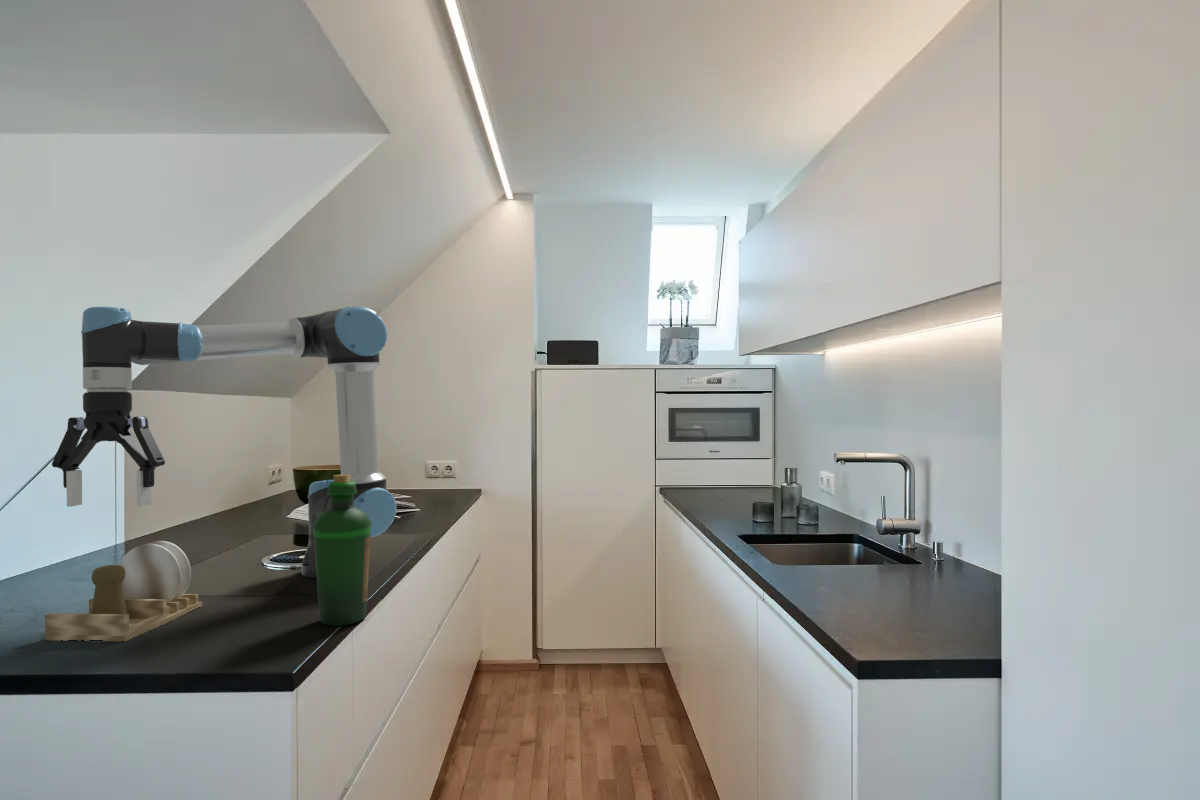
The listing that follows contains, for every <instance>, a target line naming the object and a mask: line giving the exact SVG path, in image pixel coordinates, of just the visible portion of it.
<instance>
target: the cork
mask: <svg viewBox="0 0 1200 800" xmlns="http://www.w3.org/2000/svg"><path fill="white" fill-rule="evenodd" d="M124 578H125V569H124V568H123V567H122V566H120V564H107V565H103V566H99V567H97V568H95V569H94V570H93V571H92V574H91V582H92V584H93V585H94V586H95V588H94V593H93V598H92V599H93V605H92V611H91V614H127V612H126V605H125V599H124V593H123V587H122V581H123V580H124Z"/></svg>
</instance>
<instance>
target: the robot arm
mask: <svg viewBox="0 0 1200 800" xmlns="http://www.w3.org/2000/svg"><path fill="white" fill-rule="evenodd" d="M81 323H82V325H81V333H80V334H81V342H82V350H81V351H82V388H83V389H84V390H86V392H83V394H82V411H83V412H84V413H85V417H82V416H81V417H80V416H79V417H76V416H75V417H69V418H68V420H67V429H66V430H65V433H64V436H63V438H62V440H61V442H60V444H59V447H58V449H57V451H56V454H55V455H54V458H53V459H52V463H51V466H52V467H53V468H57V469H60V470H62V472H63V473H62V475H63V476H62V477H63V478H62V480H63V487H64V489H66V507H77V506H82V505H83V470H82V469H81V468H80V467H79V466H81V464H82V463H83V462H84V460H85V459H86V458H87V457H88V455H89V453H90V452H91V451H92V450H93V449H94V448H95V446H96V445H97V444H98V443H100V442H116V443H118V444H120V446H121V447H123V449H124V450H125V451H126V452H127V454H128V455H129V456H130V457H131V459H133V460H134V462H135V463H136V464H137V466H138V467H139V469H138V470H136V507H144V506H149V505H152V487H154V486H155V469H156V468H158V467H161V466H164V465H165V464H166V461H165V459H164V456H163V454H162V452H161V450H160V449H159V446H158V444H157V442H156V440H155V438H154V436H153V434H152V432H151V430H150V428H149V420H148V417H147V416H134V417H132V416H131V412H132V410H133V394H132V393H131V392H129V390H131V389H132V388H133V376H132V375H133V372H132V364H136V365H139V366H147V365H152V364H165V363H177V362H179V363H184V362H195V361H205V360H206V361H207V360H218V359H219V360H221V359H232V358H235V359H236V358H247V357H248V358H249V357H264V356H278V355H279V356H280V355H290V356H292V357H293V358H296V359H297V358H320V359H321V358H323V359H327V366H328V367H329V368H330V370H332V371H333V372H334V375H335V378H334V379H335V392H336V393H335V394H336V409H337V426H338V427H337V429H338V442H339V443H338V446H339V461H340V464H339V465H340V474H339V475H343V474H348V475H351V478H350V481H355V485H356V490H357V493H356V494H354V502H353V507H356V508H358V509H360V510H361V511H363V512H364V513H365V514H366V515H367V516H368V518H369V519H370V521H371V535H370V538H374V537H378V536H380V535H382V534H383V533H385V532H386V531H387V530H388V529H389V527H390V526H391V525H392V524H393V522H394V520H395V517H396V515H397V501H396V498H395V497H394V495H392V494H391V492H390V491H389V490H387V477H386V476H385V474H383V473H382V472H381V471H380V470H379V469H380V468H379V466H380V465H379V451H378V450H379V449H378V433H377V431H378V430H377V415H376V414H377V411H376V396H375V395H376V393H375V380H374V379H375V377H374V376H375V375H374V371H375V370H376V368H377V367H378V366H379V365H380V352H381V351H382V350H383V349H384V347H386V343H387V340H388V330H387V326H386V324H385V322H384V320H383V319H382V317H381V316H380V315H379V314H378V313H377V312H376V311H375V310H372V309H371V308H368V307H366V306H360V305H359V306H358V305H357V306H346V307H344V308H339V309H338V308H337V309H335V310H329V311H323V312H321V313H318V314H317V313H316V314H312V315H307V316H303V317H302V316H301V317H290V318H288V320H287V321H286V322H285V321H284V322H281V321H280V322H262V323H261V322H259V323H235V324H233V323H232V324H212V325H211V324H209V325H208V324H207V325H195V324H189V323H182V322H159V321H141V320H137V319H136V320H135V319H133V317H132V314H131V311H130V310H129V309H127V308H124V307H121V308H120V307H114V306H90V307H88V308H86V309H84V310H83V313H82V321H81ZM130 428H131V429H133V432H134V434H133V432H131V429H130ZM85 429H86V431H85V433H83V432H84V430H85ZM136 438H137V440H136ZM330 482H334V479H327V480H319V481H314V482H311V483H310V484H309V487H308V495H307V500H308V501H307V502H308V503H307V504H308V505H307V506H308V544H307V548H306V550H305V553H304V556H303V560H302V562H301V565H300V567H301V572H300V573H301V574H300V575H301V576H303V577H306V578H309V579H310V578H312V579H317V574H316V559H315V544H314V528H313V524H314V522H315V521H316V519H317V517H318V516H319V515H320V514H322V513H323V512H324V511H326V510H327V509H330V508H332V507H331V497H330V495H328V494H327V493H328V488H329V483H330Z"/></svg>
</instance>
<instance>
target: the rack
mask: <svg viewBox="0 0 1200 800" xmlns="http://www.w3.org/2000/svg"><path fill="white" fill-rule="evenodd" d="M119 565H120V566H122V567H123V568H124V569H125V578H124V580H123V581H122V587H123V593H124V599H125V605H126V612H127V614H91V611H92V605H93V598H91V599H88V612H87V613H64V612H63V613H60V612H59V613H57V612H55V613H53V612H52V613H51V612H50V613H46V614H44V640H45V641H61V640H63V642H64V641H66V642H67V641H68V640H78V641H79V642H80V641H81V640H84V641H83V642H90V641H89V640H103V641H102V642H122V641H125V642H127V641H129V640H131V639H134V638H136V637H138V636H140V634H141V635H143V634H145V633H147V632H149V630H150V631H152V630H153V629H156V628H158V627H161V626H163V625H164V624H167V623H169V621H170V622H171V620H172V621H174V620H176V619H178V617H179V618H181V617H183V616H185V615H187V614H186V613H188V612H190V611H192V610H194V609H196V608H198V607H201V606H203V605H204V603H203V601H199V593H186V591H187V589H188V588H189V587H190V583H191V579H192V567H191V564H190V559H189V558H188V556H187V555H186V553H185V552H184V551H183V549H182V548H180V547H179V546H178V545H176V544H175V543H173V542H170V541H166V540H156V541H151V542H149V543H146V544H145V543H144V544H141V545H137V546H135V547H133V548H132V549H130V550H129V551H128V552H127V553H126V554H125V555H124V556H123V557H122V559H121V561H120V562H119ZM203 607H204V606H203ZM201 608H202V607H201ZM196 610H197V609H196ZM194 611H195V610H194ZM192 612H193V611H192ZM190 613H191V612H190ZM184 614H185V615H184ZM188 614H189V613H188ZM182 615H183V616H182ZM180 616H181V617H180ZM160 625H161V626H160ZM133 637H134V638H133ZM78 641H77V642H78ZM81 642H82V641H81Z"/></svg>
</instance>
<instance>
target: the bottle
mask: <svg viewBox="0 0 1200 800" xmlns="http://www.w3.org/2000/svg"><path fill="white" fill-rule="evenodd" d="M332 477H333V480H334V482H330V483H329V488H328V493H327V494H328V495H330V497H331V507H332V508H330V509H327V510H326V511H324V512H323V513H322V514H320V515H319V516H318V517H317V519H316V521H315V522H314V524H313V528H314V544H315V559H316V574H317V578H316V587H317V588H316V589H317V600H318V601H317V602H318V617H319V623H320V624H323V625H326V626H330V627H340V626H341V627H342V626H350V625H354V624H356V623H359V622H361V621H363V620H364V619H365V618H367V613H368V612H367V611H368V610H367V609H368V607H367V606H368V593H369V592H368V589H369V588H368V587H369V574H370V573H369V572H370V555H371V554H370V551H371V537H370V535H371V521H370V519H369V518H368V516H367V515H366V514H365V513H364V512H363V511H361V510H360V509H358V508H356V507H353V502H354V494H356V493H357V490H356V485H355V481H350V478H351V475H348V474H343V475H340V474H333V476H332Z"/></svg>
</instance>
